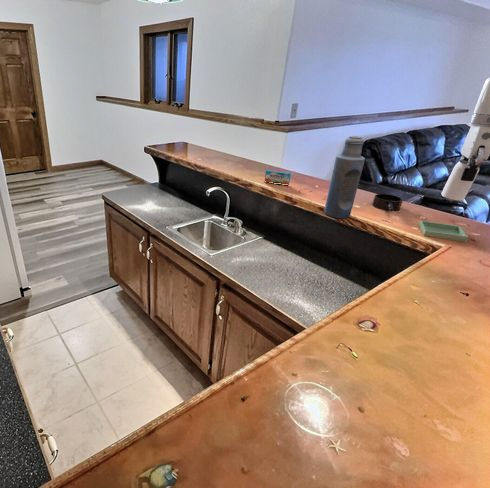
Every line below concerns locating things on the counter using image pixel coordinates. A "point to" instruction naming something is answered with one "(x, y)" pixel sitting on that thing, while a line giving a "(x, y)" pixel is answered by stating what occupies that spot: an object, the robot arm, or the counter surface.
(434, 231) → the tray
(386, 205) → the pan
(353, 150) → the bottle
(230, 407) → the counter surface
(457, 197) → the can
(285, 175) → the teal printed box
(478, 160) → the robot arm
